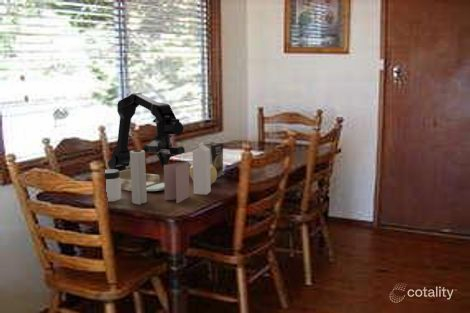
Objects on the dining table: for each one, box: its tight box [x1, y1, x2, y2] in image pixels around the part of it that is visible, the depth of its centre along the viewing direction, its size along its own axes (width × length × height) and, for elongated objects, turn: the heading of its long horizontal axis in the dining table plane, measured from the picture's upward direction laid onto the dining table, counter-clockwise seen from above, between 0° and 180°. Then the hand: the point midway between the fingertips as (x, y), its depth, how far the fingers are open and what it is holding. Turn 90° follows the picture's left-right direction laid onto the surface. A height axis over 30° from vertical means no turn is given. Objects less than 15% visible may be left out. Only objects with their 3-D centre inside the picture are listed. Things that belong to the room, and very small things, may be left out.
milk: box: [192, 141, 212, 196], centre depth 254 cm, size 6×6×22 cm
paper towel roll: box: [129, 149, 148, 206], centre depth 239 cm, size 7×6×21 cm
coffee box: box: [203, 142, 224, 178], centre depth 287 cm, size 9×6×16 cm
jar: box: [104, 168, 122, 202], centre depth 246 cm, size 9×8×12 cm
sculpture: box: [189, 163, 218, 185], centre depth 271 cm, size 12×12×11 cm
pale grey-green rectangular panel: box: [146, 182, 165, 192], centre depth 262 cm, size 1×15×10 cm
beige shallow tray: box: [119, 167, 161, 192], centre depth 268 cm, size 14×16×7 cm
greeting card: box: [163, 161, 190, 204], centre depth 243 cm, size 11×7×15 cm, turn 123°
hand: (164, 168), depth 259 cm, fingers closed
